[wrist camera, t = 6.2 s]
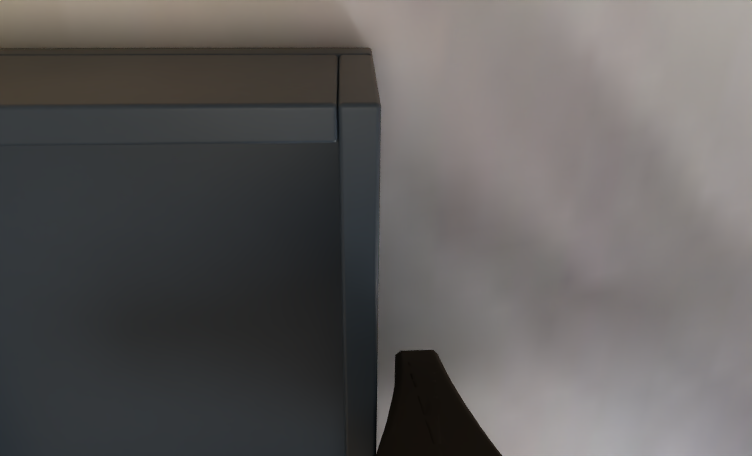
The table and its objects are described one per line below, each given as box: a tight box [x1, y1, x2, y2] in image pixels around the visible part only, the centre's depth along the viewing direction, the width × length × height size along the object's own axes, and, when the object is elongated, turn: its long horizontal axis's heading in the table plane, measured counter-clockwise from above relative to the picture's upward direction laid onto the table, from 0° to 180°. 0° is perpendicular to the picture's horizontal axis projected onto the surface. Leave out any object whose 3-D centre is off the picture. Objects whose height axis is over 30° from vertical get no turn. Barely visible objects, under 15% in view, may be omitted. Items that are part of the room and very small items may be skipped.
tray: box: [0, 48, 381, 456], centre depth 13 cm, size 11×14×3 cm
